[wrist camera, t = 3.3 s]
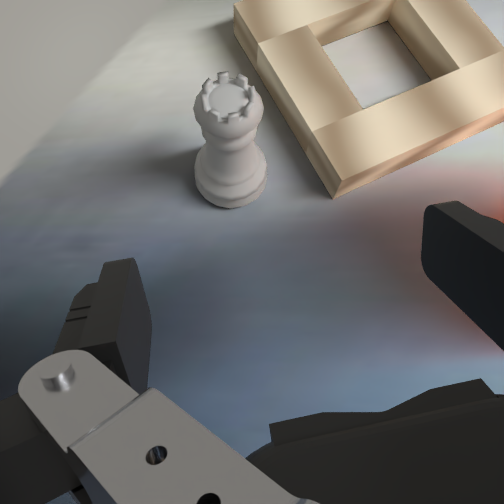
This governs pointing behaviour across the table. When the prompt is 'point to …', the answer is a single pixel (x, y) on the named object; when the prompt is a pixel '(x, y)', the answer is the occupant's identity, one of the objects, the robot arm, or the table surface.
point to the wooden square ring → (384, 113)
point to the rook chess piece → (229, 142)
